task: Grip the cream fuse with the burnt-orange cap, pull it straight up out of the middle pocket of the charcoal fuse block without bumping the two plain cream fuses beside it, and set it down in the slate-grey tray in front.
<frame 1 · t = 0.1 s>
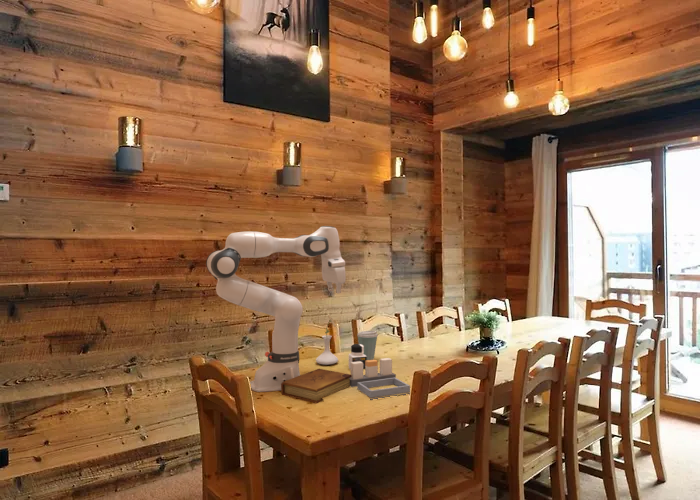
hand: (334, 292, 220), 39 cm above the table, tool pointing down, fingers open, 8 cm apart
tray: (383, 392, 198), on the table
marked fuse: (371, 381, 211), point 1 cm above the table, touching fuse block
disposable coffee cup: (367, 360, 251), on the table
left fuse: (356, 383, 208), point 1 cm above the table, touching fuse block
diary: (317, 391, 201), on the table, touching arm, fuse block
flower in vase: (327, 363, 246), on the table
fuse block: (371, 383, 211), on the table
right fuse: (385, 379, 213), point 1 cm above the table, touching fuse block
medicine bottle: (357, 369, 234), on the table
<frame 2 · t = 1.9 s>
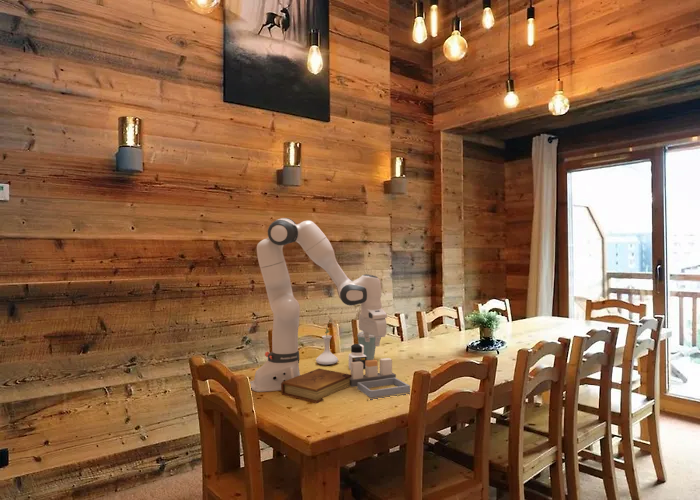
hand: (372, 343, 210), 17 cm above the table, tool pointing down, fingers open, 8 cm apart
nothing on the table moved.
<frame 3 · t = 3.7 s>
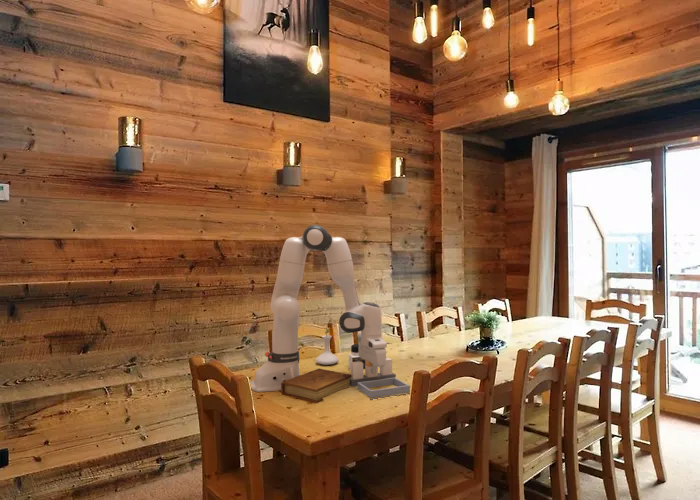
hand: (371, 372, 210), 5 cm above the table, tool pointing down, fingers closed on marked fuse, 3 cm apart
marked fuse: (371, 381, 211), point 1 cm above the table, touching fuse block, gripper
everything else where it was.
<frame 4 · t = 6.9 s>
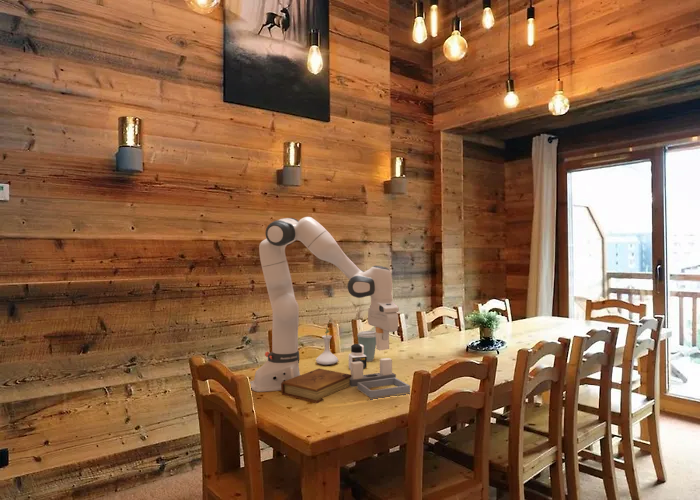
hand: (382, 339, 199), 22 cm above the table, tool pointing down, fingers closed on marked fuse, 3 cm apart
marked fuse: (382, 349, 200), point 18 cm above the table, touching gripper
everything else where it was.
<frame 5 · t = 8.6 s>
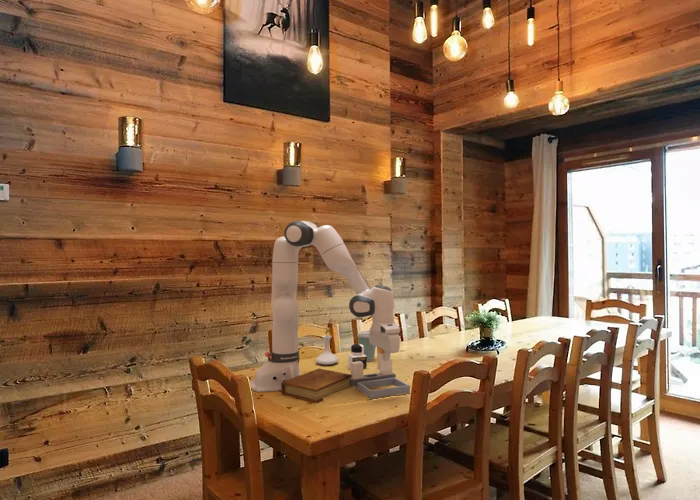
hand: (383, 359, 198), 14 cm above the table, tool pointing down, fingers closed on marked fuse, 3 cm apart
marked fuse: (384, 369, 198), point 10 cm above the table, touching gripper
everything else where it was.
when the fingers open (7 cm above the table, at t = 10.1 s): marked fuse drops 2 cm, resting on tray.
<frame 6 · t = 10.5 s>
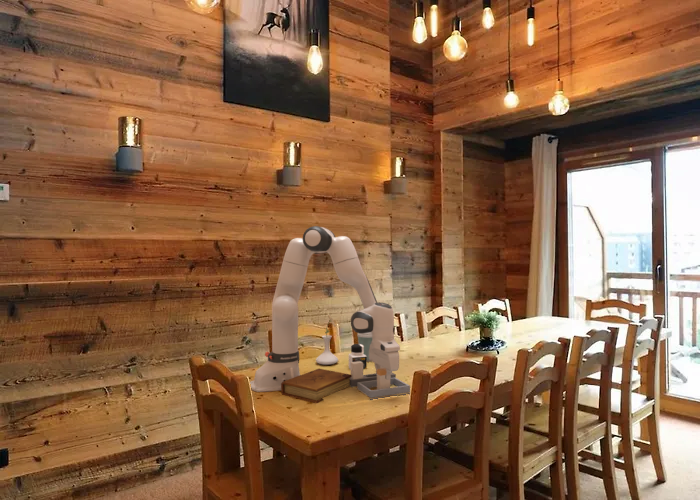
hand: (383, 376, 198), 7 cm above the table, tool pointing down, fingers open, 7 cm apart
marked fuse: (383, 391, 198), point 1 cm above the table, touching tray
everything else where it was.
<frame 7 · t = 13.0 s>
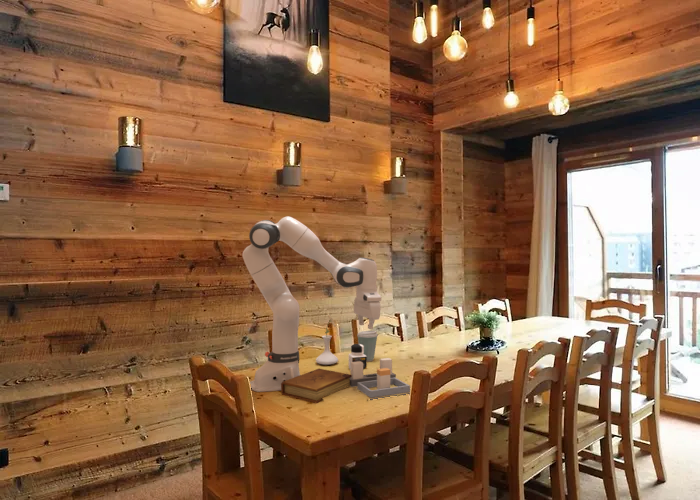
hand: (365, 326, 211), 25 cm above the table, tool pointing down, fingers open, 8 cm apart
nothing on the table moved.
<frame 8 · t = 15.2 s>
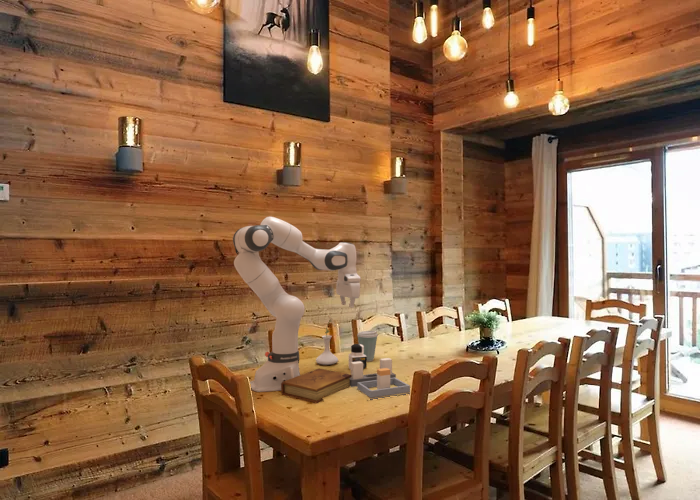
hand: (347, 306, 229), 31 cm above the table, tool pointing down, fingers open, 8 cm apart
nothing on the table moved.
at the end: marked fuse inside the target area on the tray (0.1 cm from its centre), point 0.6 cm above the tray's base; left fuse moved 0.1 cm from its start; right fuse moved 0.0 cm from its start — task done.
